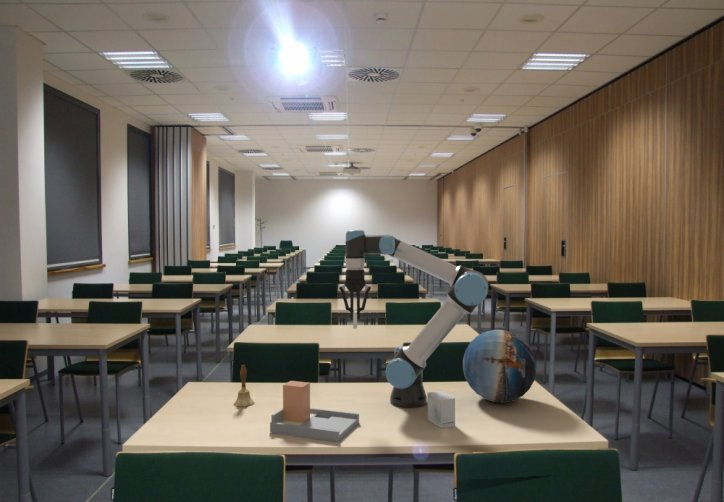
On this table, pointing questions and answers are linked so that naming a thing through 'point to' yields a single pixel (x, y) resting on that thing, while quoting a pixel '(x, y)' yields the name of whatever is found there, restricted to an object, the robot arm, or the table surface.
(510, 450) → the table surface
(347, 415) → the tray
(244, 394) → the hand bell
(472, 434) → the table surface
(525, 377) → the decorative globe
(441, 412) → the skincare box
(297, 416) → the terracotta brick
